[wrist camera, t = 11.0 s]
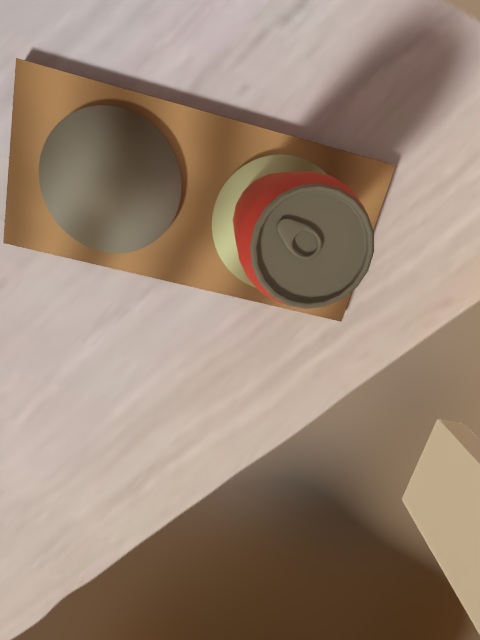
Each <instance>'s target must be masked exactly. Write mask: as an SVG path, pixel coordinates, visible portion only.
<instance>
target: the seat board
mask: <svg viewBox="0 0 480 640" xmlns="http://www.w3.org/2000/svg"><path fill="white" fill-rule="evenodd" d="M395 167H396V166H395V165H392V164H388V163H385V162H381V161H378V160H374V159H371V158H367V157H363V156H360V155H356V154H353V153H349V152H346V151H342V150H339V149H335V148H332V147H328V146H325V145H321V144H318V143H314V142H311V141H307V140H304V139H300V138H296V137H293V136H289V135H286V134H282V133H279V132H275V131H272V130H268V129H265V128H261V127H258V126H254V125H251V124H247V123H244V122H240V121H237V120H233V119H229V118H226V117H222V116H219V115H215V114H212V113H208V112H205V111H201V110H198V109H194V108H191V107H187V106H184V105H180V104H177V103H173V102H170V101H166V100H162V99H159V98H155V97H152V96H148V95H145V94H141V93H138V92H134V91H131V90H127V89H124V88H120V87H117V86H113V85H110V84H106V83H103V82H99V81H95V80H92V79H88V78H85V77H81V76H78V75H74V74H71V73H67V72H64V71H60V70H57V69H53V68H50V67H46V66H43V65H39V64H36V63H32V62H28V61H25V60H21V59H18V58H16V69H15V83H14V98H13V112H12V127H11V141H10V156H9V170H8V185H7V199H6V214H5V228H4V243H6V244H10V245H15V246H19V247H23V248H28V249H32V250H36V251H40V252H45V253H49V254H53V255H58V256H62V257H66V258H71V259H75V260H79V261H83V262H88V263H92V264H96V265H101V266H105V267H109V268H113V269H118V270H122V271H126V272H131V273H135V274H139V275H144V276H148V277H152V278H156V279H161V280H165V281H169V282H174V283H178V284H182V285H187V286H191V287H195V288H199V289H204V290H208V291H212V292H217V293H221V294H225V295H229V296H234V297H238V298H242V299H247V300H251V301H255V302H260V303H264V304H268V305H272V306H277V307H281V308H285V309H290V310H294V311H298V312H303V313H307V314H311V315H315V316H320V317H324V318H328V319H333V320H337V321H342V318H343V315H344V313H345V310H346V307H347V304H348V301H349V298H350V295H351V293H352V292H350V293H349V294H348V295H347V296H346V297H344V298H343V299H342V300H339V301H337V302H335V303H332V304H330V305H328V306H325V307H319V308H310V309H304V308H298V307H293V306H288V305H286V304H282V303H279V302H277V301H275V300H274V299H272V298H270V297H268V296H266V295H264V294H263V293H261V292H260V291H259V290H258V289H257V288H256V287H255V286H254V285H253V283H252V282H251V281H250V280H249V279H248V278H247V276H246V274H245V271H244V269H243V267H242V265H241V263H240V261H239V256H238V251H237V246H236V241H235V235H234V227H233V216H234V211H235V206H236V204H237V202H238V200H239V198H240V196H241V194H242V193H243V191H244V190H245V189H246V188H247V187H248V186H249V185H250V184H251V183H253V182H254V181H255V180H257V179H259V178H261V177H263V176H265V175H268V174H273V173H282V172H301V171H312V172H317V173H321V174H326V175H330V176H333V177H334V178H336V179H337V180H339V181H340V182H342V183H344V184H345V185H347V186H348V187H350V189H351V190H352V191H353V193H354V194H355V195H356V196H357V198H358V199H359V200H360V202H361V203H362V204H363V206H364V208H365V211H366V212H367V213H368V216H369V219H370V222H371V225H372V228H373V230H374V227H375V224H376V221H377V218H378V215H379V213H380V210H381V207H382V204H383V201H384V198H385V195H386V193H387V190H388V187H389V184H390V181H391V178H392V175H393V173H394V170H395Z"/></svg>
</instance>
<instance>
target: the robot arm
mask: <svg viewBox="0 0 480 640" xmlns="http://www.w3.org/2000/svg"><path fill="white" fill-rule="evenodd" d="M402 501H403V503H404V504H405V506H406V508H407V510H408V511H409V513H410V515H411V516H412V518H413V520H414V522H415V523H416V525H417V527H418V529H419V530H420V532H421V534H422V535H423V537H424V539H425V541H426V542H427V544H428V546H429V548H430V549H431V551H432V553H433V555H434V556H435V558H436V560H437V562H438V563H439V565H440V567H441V568H442V570H443V572H444V574H445V575H446V577H447V579H448V581H449V582H450V584H451V586H452V588H453V589H454V591H455V593H456V594H457V596H458V598H459V600H460V601H461V603H462V605H463V606H464V608H465V610H466V612H467V614H468V615H469V617H470V619H471V620H472V622H473V624H474V626H475V627H476V629H477V631H478V632H479V634H480V439H479V438H478V437H477V436H476V435H475V434H474V433H473V432H472V431H471V430H470V429H469V428H468V427H467V426H466V425H465V424H464V423H460V422H454V421H449V420H444V419H437V422H436V424H435V426H434V428H433V430H432V433H431V435H430V437H429V439H428V442H427V444H426V446H425V448H424V451H423V453H422V455H421V457H420V459H419V462H418V464H417V466H416V468H415V471H414V473H413V475H412V477H411V480H410V482H409V484H408V486H407V489H406V491H405V493H404V495H403V497H402Z"/></svg>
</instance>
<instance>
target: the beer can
mask: <svg viewBox="0 0 480 640" xmlns="http://www.w3.org/2000/svg"><path fill="white" fill-rule="evenodd" d="M233 227H234V235H235V241H236V246H237V251H238V256H239V261H240V263H241V265H242V267H243V269H244V271H245V274H246V276H247V278H248V279H249V280H250V281H251V282H252V283H253V285H254V286H255V287H256V288H257V289H258V290H259V291H260V292H261V293H263V294H264V295H266V296H268V297H270V298H272V299H274V300H275V301H277V302H279V303H282V304H286V305H288V306H293V307H298V308H304V309H310V308H319V307H325V306H328V305H330V304H332V303H335V302H337V301H339V300H342V299H343V298H344V297H346V296H347V295H348V294H349V293H350V292H352V291H353V290H354V289H355V288H356V287H357V286H358V285H359V283H360V282H361V280H362V279H363V277H364V276H365V274H366V273H367V271H368V269H369V266H370V263H371V260H372V256H373V253H374V231H373V228H372V225H371V222H370V219H369V216H368V213H367V212H366V211H365V208H364V206H363V204H362V203H361V202H360V200H359V199H358V198H357V196H356V195H355V194H354V193H353V191H352V190H351V189H350V187H348V186H347V185H345V184H344V183H342V182H340V181H339V180H337V179H336V178H334V177H333V176H330V175H326V174H321V173H317V172H312V171H301V172H282V173H273V174H268V175H265V176H263V177H261V178H259V179H257V180H255V181H254V182H253V183H251V184H250V185H249V186H248V187H247V188H246V189H245V190H244V191H243V193H242V194H241V196H240V198H239V200H238V202H237V204H236V206H235V211H234V216H233Z"/></svg>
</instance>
